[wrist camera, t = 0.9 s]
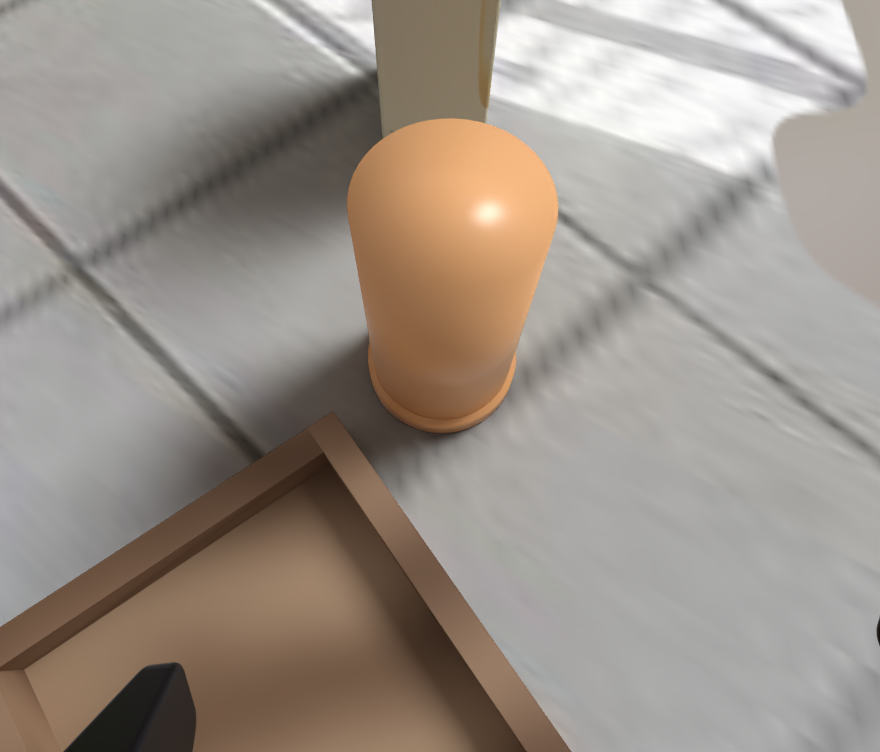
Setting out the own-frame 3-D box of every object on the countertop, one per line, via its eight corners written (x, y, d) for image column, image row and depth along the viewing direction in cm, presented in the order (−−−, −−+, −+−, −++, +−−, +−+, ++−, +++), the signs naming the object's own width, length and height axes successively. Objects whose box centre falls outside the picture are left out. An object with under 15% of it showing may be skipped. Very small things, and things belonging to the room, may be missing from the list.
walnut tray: (572, 764, 20) (589, 778, 18) (188, 1106, 17) (156, 1170, 15) (341, 430, 24) (333, 411, 22) (-9, 660, 21) (-56, 663, 19)
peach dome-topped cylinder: (541, 380, 25) (613, 224, 15) (424, 462, 23) (426, 345, 14) (456, 278, 26) (474, 80, 17) (342, 349, 25) (295, 177, 16)
